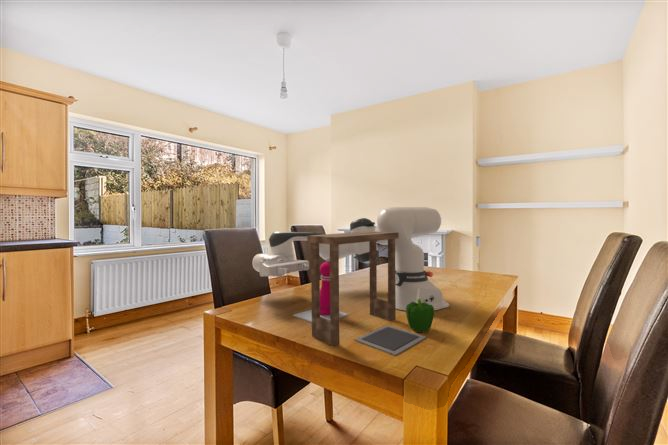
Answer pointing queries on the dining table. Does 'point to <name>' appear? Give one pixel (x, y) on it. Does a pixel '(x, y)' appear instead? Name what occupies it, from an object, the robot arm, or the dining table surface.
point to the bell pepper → (419, 316)
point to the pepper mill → (325, 288)
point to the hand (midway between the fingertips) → (298, 269)
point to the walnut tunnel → (378, 307)
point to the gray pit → (390, 339)
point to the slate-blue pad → (308, 315)
